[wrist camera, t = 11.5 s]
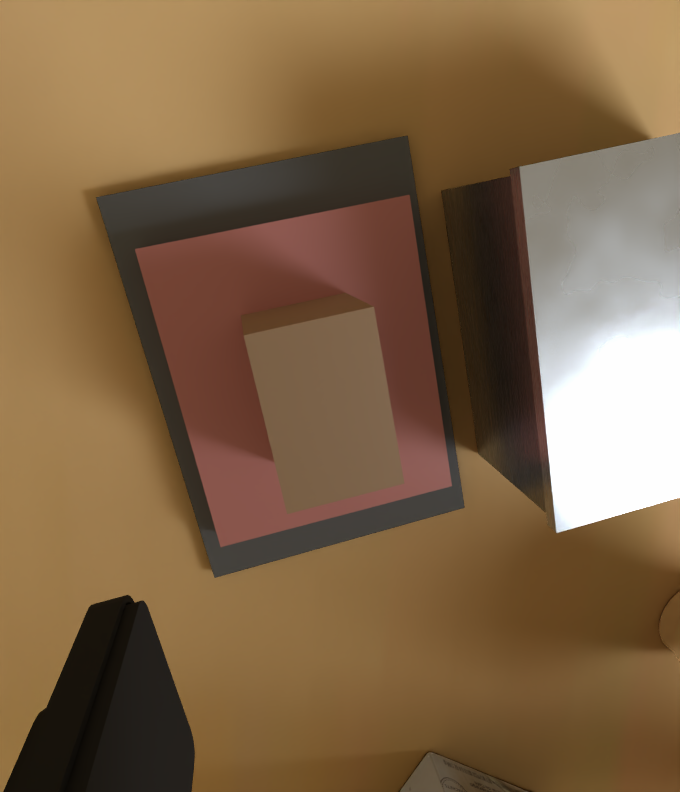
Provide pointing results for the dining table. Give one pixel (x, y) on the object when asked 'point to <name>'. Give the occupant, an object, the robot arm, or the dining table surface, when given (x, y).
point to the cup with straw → (671, 625)
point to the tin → (575, 326)
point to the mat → (247, 206)
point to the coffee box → (452, 778)
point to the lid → (302, 365)
